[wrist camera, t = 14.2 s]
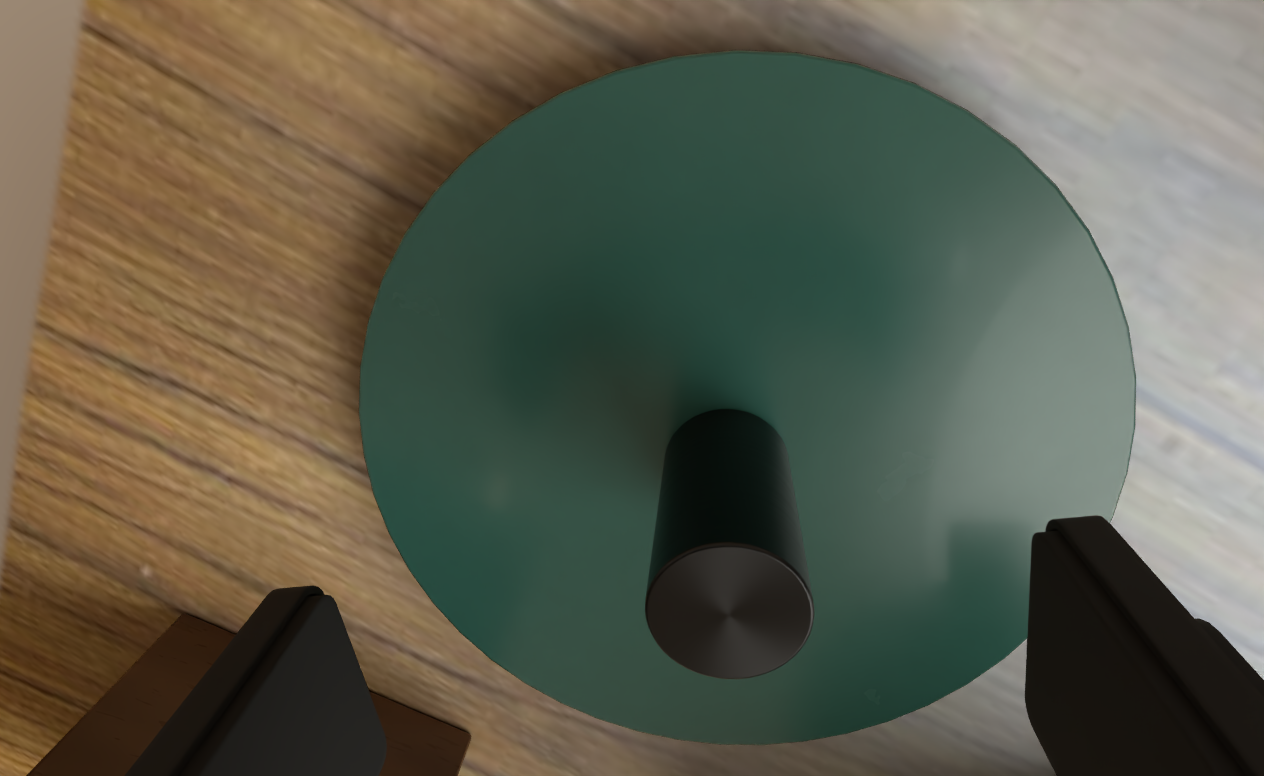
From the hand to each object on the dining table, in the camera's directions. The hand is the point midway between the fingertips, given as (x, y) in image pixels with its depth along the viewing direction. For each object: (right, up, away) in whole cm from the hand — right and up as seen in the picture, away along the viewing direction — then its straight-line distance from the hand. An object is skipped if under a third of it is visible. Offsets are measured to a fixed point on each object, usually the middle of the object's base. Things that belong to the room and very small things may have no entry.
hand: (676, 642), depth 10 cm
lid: (+1, +2, +5) cm, 6 cm away
